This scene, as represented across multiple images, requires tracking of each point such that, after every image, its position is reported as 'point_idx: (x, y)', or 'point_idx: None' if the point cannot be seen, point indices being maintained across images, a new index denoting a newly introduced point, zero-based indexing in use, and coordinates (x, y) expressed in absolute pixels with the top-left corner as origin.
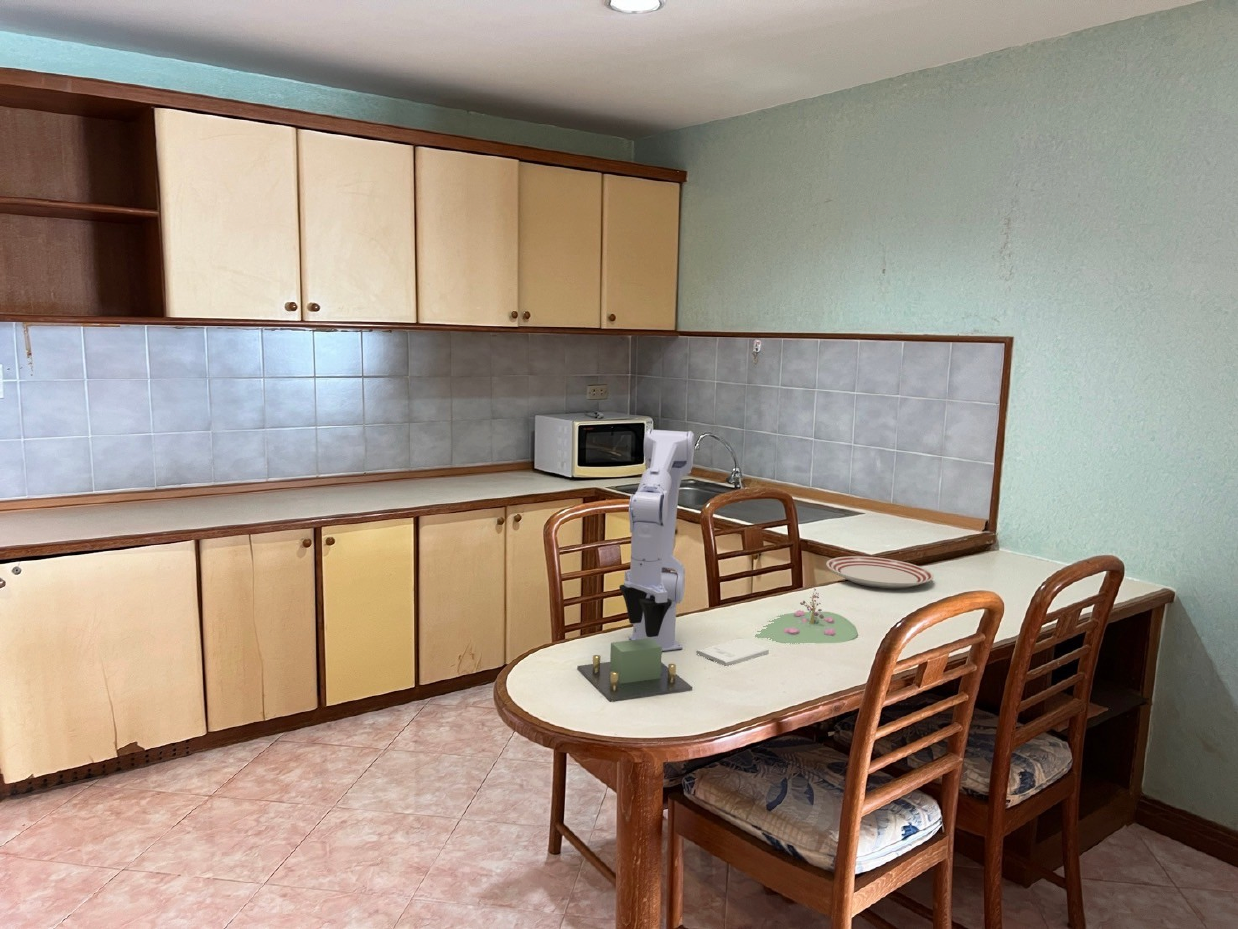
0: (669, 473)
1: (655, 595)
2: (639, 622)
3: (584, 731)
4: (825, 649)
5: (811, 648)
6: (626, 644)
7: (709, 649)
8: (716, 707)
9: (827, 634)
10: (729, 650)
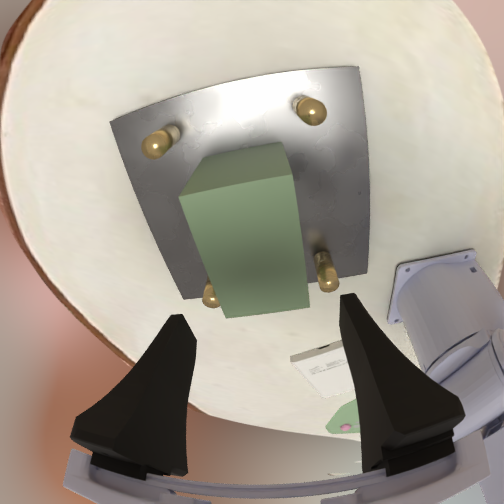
0: None
1: (75, 476)
2: (340, 322)
3: (9, 80)
4: (312, 420)
5: (320, 415)
6: (259, 228)
7: None
8: (118, 305)
9: (343, 425)
10: (336, 372)
